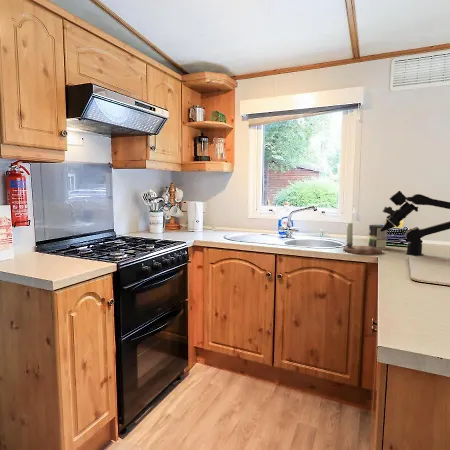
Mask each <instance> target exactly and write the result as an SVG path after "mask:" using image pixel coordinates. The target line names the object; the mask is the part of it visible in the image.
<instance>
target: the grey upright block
mask: <svg viewBox="0 0 450 450" xmlns="http://www.w3.org/2000/svg"><path fill="white" fill-rule="evenodd" d="M384 225H385V224H369V225H368V245H367V246H370V247H377V248H381V249H382V250H385V249H387V236H388V235H387V233H388V230H385V231H383V232H381V231H380V230H381V229H382V227H383V226H384Z"/></svg>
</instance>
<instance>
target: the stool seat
mask: <svg viewBox="0 0 450 450" xmlns="http://www.w3.org/2000/svg"><path fill="white" fill-rule="evenodd" d="M342 249H343V250H342V252H344V251H345V252H344V253H346V252H348V253H347V254H351V253H352V255H362V256H375V255H377V256H378V255H381V254H382V255H383V249H381V248H377V247H370V246H368V245H352V244H347V243H346V245H345V246H343V247H342Z"/></svg>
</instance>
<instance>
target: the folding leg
mask: <svg viewBox="0 0 450 450" xmlns="http://www.w3.org/2000/svg"><path fill="white" fill-rule="evenodd" d="M353 225H354V224H353V223H352V222H350V223H349V222H347V223H346V245H347V244H352V246H354V245H353V242H354V241H353V240H354V239H353V235H354V233H353V231H354V230H353V228H354V227H353Z"/></svg>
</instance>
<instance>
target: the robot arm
mask: <svg viewBox="0 0 450 450" xmlns="http://www.w3.org/2000/svg"><path fill="white" fill-rule="evenodd" d="M389 200H390V201H391V202H392V203H393V204H395V206H396V207H397V206H399V207H398V208H397V209H395V210H393V207H391V206H388V207H387V206H384V208H383V210H382V212H383V213H385V214H388V215H387V216H386V219H385V223H384V224H383V225H384V226H383V227H382V229H381V230H380V231H381V232H383V231H385V230H387V231H388V230H391V229H394V228H398V227H400V225H401V221H403V220H404V219H406V218H407V216H408V215H410V214H411V213H412V212H413V211H414V212H416V213H417V212H418V210H419V206H432V207H436V208H441V209H446V210H450V201H445V200H440V199H434V198H431V197H429V196H426V195H423V194H420V193H417V194H413V195H412V196H405V195H404V194H403V192H402V191H400V190H398V191H397V192H396V193H394V194H393V195H391V197H390V198H389ZM410 202H411V203H410ZM415 205H419V206H415ZM448 230H450V220H449V221H446V222H441V223H438V224H435V225H431V226H428V227H425V228H419V227H418V226H416V227H413V228H409V229H408V230H406V232H405V234H404V237H405V239H406V240H408V243H407V247H406V249H407V250H406V252H405V254H406V255H410V256H424V253H422V252H423V251H422V250H423V239H422V238H424V237H425V236H430V235H433V234H437V233H441V232H445V231H448Z"/></svg>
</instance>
